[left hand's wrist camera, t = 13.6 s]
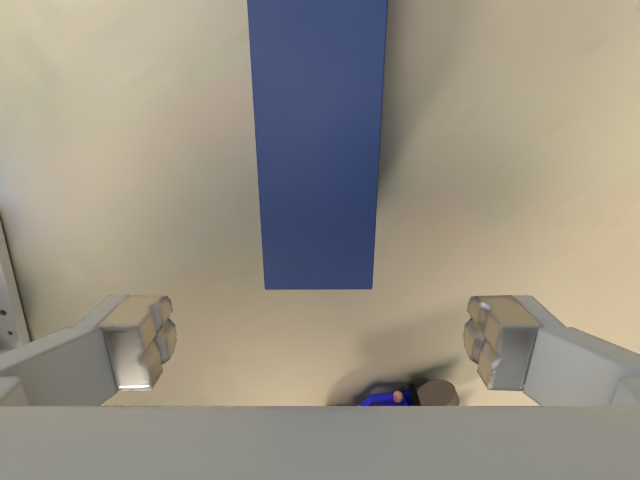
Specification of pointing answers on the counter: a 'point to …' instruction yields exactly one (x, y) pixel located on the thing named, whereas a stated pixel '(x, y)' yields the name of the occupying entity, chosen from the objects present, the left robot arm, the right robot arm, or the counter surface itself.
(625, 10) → the counter surface
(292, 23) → the box
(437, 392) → the figurine character
